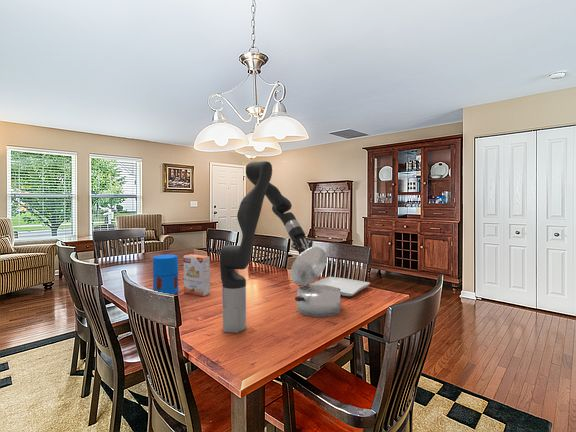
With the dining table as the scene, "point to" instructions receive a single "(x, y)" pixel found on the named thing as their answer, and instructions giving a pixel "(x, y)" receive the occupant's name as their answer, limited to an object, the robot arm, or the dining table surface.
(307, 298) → the pot
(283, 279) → the dining table surface
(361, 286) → the square plate
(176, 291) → the thermos
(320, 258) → the lid
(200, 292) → the cracker box
